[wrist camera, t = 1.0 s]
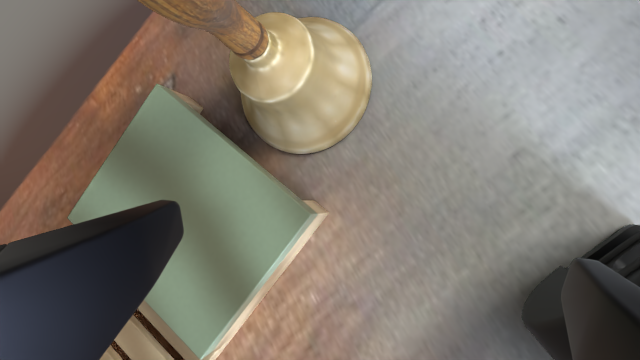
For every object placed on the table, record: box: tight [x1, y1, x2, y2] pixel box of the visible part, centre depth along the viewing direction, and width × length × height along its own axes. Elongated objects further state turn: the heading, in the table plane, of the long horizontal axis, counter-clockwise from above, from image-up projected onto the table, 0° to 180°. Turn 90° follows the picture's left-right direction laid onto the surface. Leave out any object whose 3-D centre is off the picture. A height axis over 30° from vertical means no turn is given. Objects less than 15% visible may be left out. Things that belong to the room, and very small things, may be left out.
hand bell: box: [138, 0, 372, 154], centre depth 16 cm, size 8×8×16 cm
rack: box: [67, 84, 329, 360], centre depth 24 cm, size 18×12×4 cm, turn 141°
